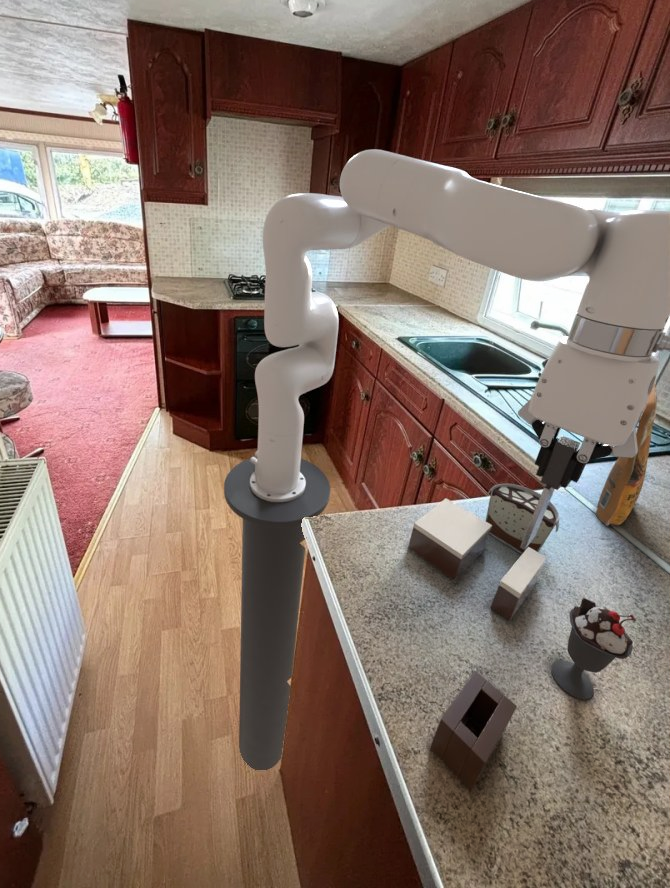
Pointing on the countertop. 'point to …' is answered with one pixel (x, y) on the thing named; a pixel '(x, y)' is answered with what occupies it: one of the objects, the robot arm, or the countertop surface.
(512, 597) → the cake slice
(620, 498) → the pancake mix bag
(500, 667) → the countertop surface
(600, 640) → the sundae
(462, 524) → the cake
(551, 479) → the knife
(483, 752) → the knife block
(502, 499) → the ice cream dessert
